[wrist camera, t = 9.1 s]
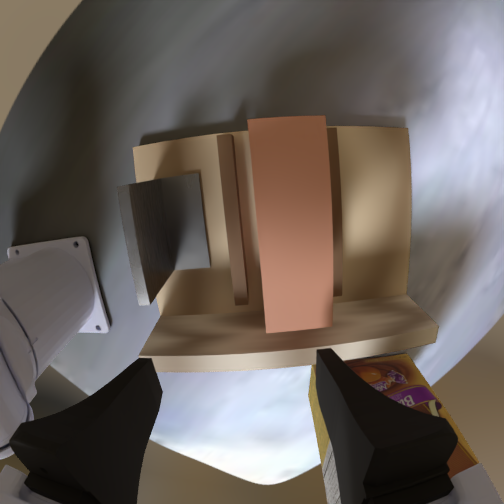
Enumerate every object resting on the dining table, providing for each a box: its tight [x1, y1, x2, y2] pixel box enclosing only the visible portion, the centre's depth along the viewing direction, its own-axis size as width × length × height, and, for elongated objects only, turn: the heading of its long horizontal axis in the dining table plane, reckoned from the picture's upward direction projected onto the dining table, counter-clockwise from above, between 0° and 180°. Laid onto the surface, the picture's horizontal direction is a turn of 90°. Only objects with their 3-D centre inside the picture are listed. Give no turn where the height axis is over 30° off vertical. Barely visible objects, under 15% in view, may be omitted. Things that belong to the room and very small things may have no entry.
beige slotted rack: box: [133, 126, 439, 372], centre depth 17 cm, size 18×13×6 cm
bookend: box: [117, 173, 211, 305], centre depth 16 cm, size 3×6×6 cm, turn 5°
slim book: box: [247, 115, 333, 333], centre depth 15 cm, size 3×9×7 cm, turn 5°
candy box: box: [308, 354, 479, 504], centre depth 16 cm, size 9×4×15 cm, turn 90°
